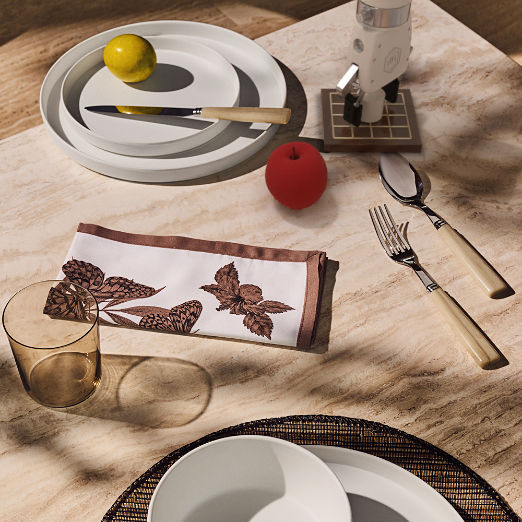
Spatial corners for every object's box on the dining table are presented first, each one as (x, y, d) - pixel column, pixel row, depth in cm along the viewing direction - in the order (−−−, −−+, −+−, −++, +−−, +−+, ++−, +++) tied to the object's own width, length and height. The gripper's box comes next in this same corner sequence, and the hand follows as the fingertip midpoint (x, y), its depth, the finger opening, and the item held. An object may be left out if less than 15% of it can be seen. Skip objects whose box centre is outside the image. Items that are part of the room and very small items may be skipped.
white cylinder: (380, 106, 111) (383, 85, 108) (383, 122, 108) (386, 101, 105) (353, 106, 111) (356, 85, 108) (355, 122, 108) (358, 101, 105)
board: (408, 96, 116) (410, 88, 115) (420, 152, 106) (422, 144, 105) (320, 95, 116) (320, 87, 115) (323, 152, 106) (324, 143, 105)
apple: (337, 210, 97) (342, 155, 90) (278, 226, 95) (279, 172, 88) (311, 171, 103) (314, 116, 96) (255, 185, 101) (254, 131, 94)
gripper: (363, 41, 90) (351, 145, 103) (442, -4, 98) (422, 98, 111) (321, 21, 94) (315, 124, 107) (400, -21, 102) (386, 80, 115)
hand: (370, 110), depth 109 cm, fingers open, 8 cm apart
